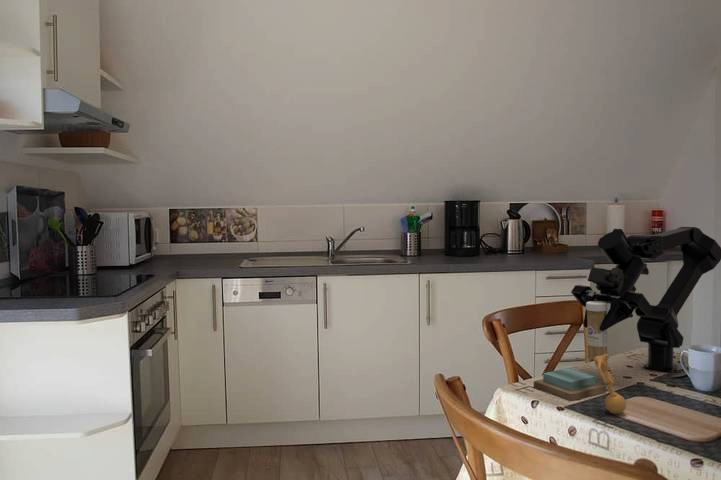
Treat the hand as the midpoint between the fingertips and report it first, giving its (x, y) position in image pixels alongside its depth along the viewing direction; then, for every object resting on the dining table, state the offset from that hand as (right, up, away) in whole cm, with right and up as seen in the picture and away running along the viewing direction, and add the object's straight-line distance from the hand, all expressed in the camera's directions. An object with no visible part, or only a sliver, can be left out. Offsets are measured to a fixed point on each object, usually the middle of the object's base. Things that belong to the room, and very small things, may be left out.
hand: (592, 328), depth 137 cm
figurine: (-3, -15, -18) cm, 23 cm away
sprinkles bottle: (+1, -8, +1) cm, 8 cm away
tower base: (-7, -14, -3) cm, 15 cm away
